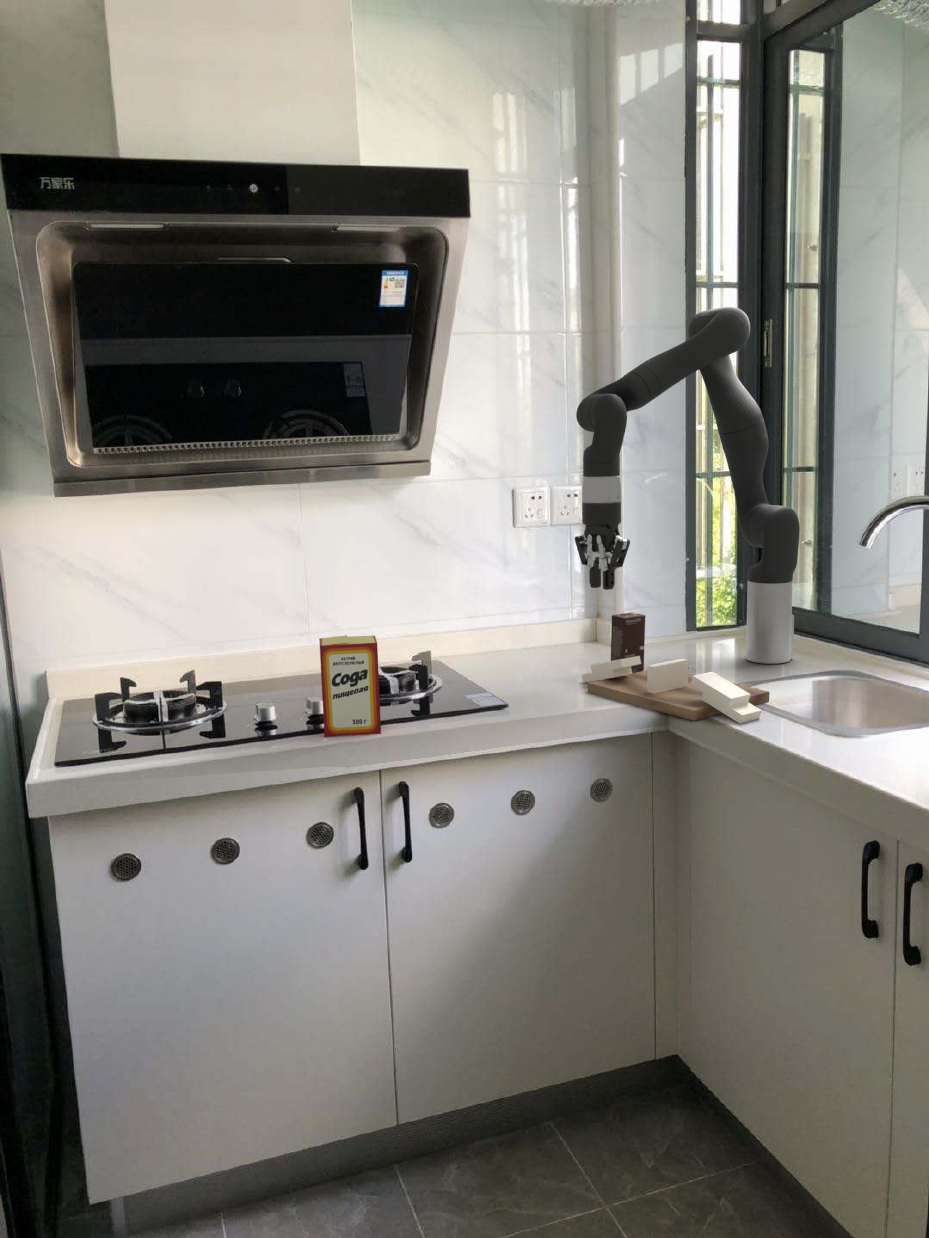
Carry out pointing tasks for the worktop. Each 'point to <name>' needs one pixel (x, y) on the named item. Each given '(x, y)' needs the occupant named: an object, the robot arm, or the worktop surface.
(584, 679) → the domino
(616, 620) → the box
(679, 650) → the worktop surface
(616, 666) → the domino
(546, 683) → the worktop surface
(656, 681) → the domino
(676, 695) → the cutting board
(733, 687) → the domino
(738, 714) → the domino
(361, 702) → the baking soda box
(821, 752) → the worktop surface
